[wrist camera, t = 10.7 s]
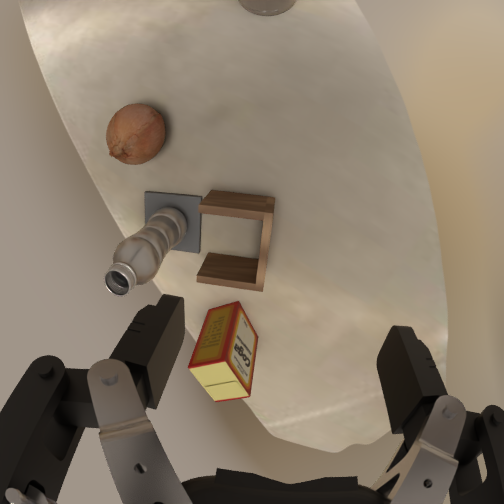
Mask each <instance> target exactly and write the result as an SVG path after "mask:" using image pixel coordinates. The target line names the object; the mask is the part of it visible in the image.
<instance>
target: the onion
mask: <svg viewBox="0 0 504 504" xmlns="http://www.w3.org/2000/svg"><path fill="white" fill-rule="evenodd" d="M165 133H166V132H165V125H164V121H163V118H162V116H161V114H160V113H158V112H157V111H156V110H154V109H153V108H151V107H150V106H148V105H144V104H131V105H127V106H125V107H123V108H122V109H120V110H119V111H118V112H116V113H115V115H114V116H113V117H112V119H111V121H110V122H109V125H108V128H107V132H106V140H107V145H108V148H109V150H110V153H109V155H111V157H112V156H113V157H115V158H116V159H118V160H119V161H121V162H123V163H126V164H133V165H138V164H142V163H145V162H147V161H149V160H151V159H152V158H153V157H154V156H155V155H156V154H157V153H158V152H159V151H160V149H161V147H162V145H163V143H164V139H165Z"/></svg>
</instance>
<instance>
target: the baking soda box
mask: <svg viewBox="0 0 504 504" xmlns="http://www.w3.org/2000/svg"><path fill="white" fill-rule="evenodd" d="M257 342H258V336H257V334H256V332H255V330H254V328H253V326H252V325H251V323H250V321H249V319H248V317H247V315H246V314H245V312H244V310H243V308H242V306H241V304H240V302H239V301H237V302H233V303H230V304H226V305H223V306H219V307H216V308H212V309H209V310H208V313H207V315H206V318H205V321H204V324H203V326H202V329H201V332H200V335H199V337H198V340H197V343H196V346H195V349H194V351H193V354H192V357H191V360H190V363H189V365H188V368H189V369H190V371H191V372H192V373H193V375H194V376H195V377H196V378H197V380H198V381H199V382H200V383H201V385H202V386H203V387H204V388H205V390H206V391H207V392H208V393H209V395H210V396H211V397H212V398H213V399H214V401H215V402H220V401H227V400H234V399H241V398H247V397H250V394H251V387H252V379H253V372H254V365H255V357H256V349H257Z"/></svg>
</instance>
